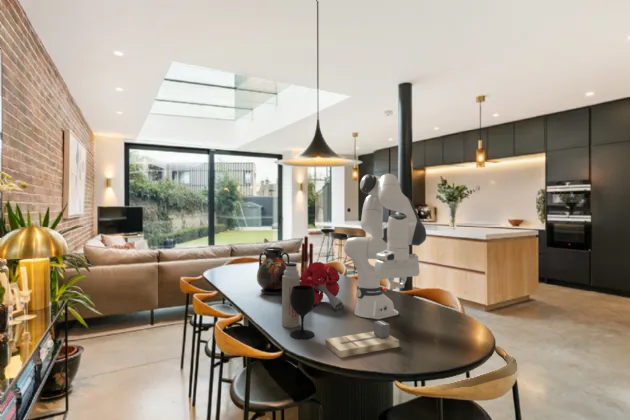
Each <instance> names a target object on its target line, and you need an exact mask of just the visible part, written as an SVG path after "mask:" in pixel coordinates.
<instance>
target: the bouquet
mask: <svg viewBox="0 0 630 420" xmlns="http://www.w3.org/2000/svg"><path fill="white" fill-rule="evenodd" d="M339 280H340V274H339V272H338V270H337V269H336V268H335V267H334V266H332V265H330V264H329V263H326V264H325V263H323V262H321V261H318V262H317V261H315V262H312V263H309V264H308V266H307V267H306V268H305V269H304V270H303V271H302V272H301V276H300V285H307V286H312V287H313V289H314V294H315V303H314V306H317V305H319V303H321V302H322V300H323V299H324V295H325V296H326V297H327V299H328V301H329V302H330V304H331V306H332V308H333V309H334V310H336V311H337V310H340V309H341V308H342V307H343V301H342V300H340V298H338V297H337V296H338V294H339V292H340V285H339Z"/></svg>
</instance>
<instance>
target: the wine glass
mask: <svg viewBox="0 0 630 420" xmlns="http://www.w3.org/2000/svg"><path fill="white" fill-rule="evenodd" d="M290 302H291V306H292V308H293V310H294V311H295V312H296V313H297V314H299V317H300V329H296V330H293V331H290V333H289V336H290V337H291V338H292V339H294V340H310V339H312V338H314V337H315V332H313V331H312V330H308V329H304V322H305V321H304V320H305V316H306V315H308V314H309V313H310V312H311V311H312V309H313V308H314V306H315V304H314V303H315V294H314V289H313V287H312V286H307V285H299V286H294V287H293V288H292V291H291V295H290Z"/></svg>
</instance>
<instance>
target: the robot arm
mask: <svg viewBox="0 0 630 420" xmlns="http://www.w3.org/2000/svg"><path fill="white" fill-rule="evenodd" d="M359 189H360V191H361V192H362V193H363V194H366V195H367V196H366V197H365V199H364V202H363V206H362V210H361V211H362V212H361V220H360V227H361V229H362V230H363V231H364V232H365V233H367V234H369V235H371V236H354V237H349V238H347V239H346V240H345V241H344V245H343V250H344V253H345V255H346V256H347V257H348V258H349V259H351V261H352V262H353V263H354V265H355V267H356V272H357V286H356V305H355V310H354V312H353V313H354V315H355V316H358V317H362V318H367V319H374V320H381V319H387V318H390V317H394V316H398V315H399V311H398V310H396V309H395V307H394V302H393V300H391V299H390V297H388V296H387V295H386V294H384V293H385V292H387V290H388V289H387V287H384V286H383V287H382V286H381V280H386V279H387V281H388V283H389V284H390V285H389V286H390V289H391V290H396V289H397V288H396V287H397V285H396V284H395V283H394V281H395V279H398V278H399V279H401V281H400V282H399V283H398V288H399V289H404V288H405V284H406V282H407V279H408V278H411V277H418V276H419V275H420V264H419V256H418V255H417V254H416V253H410V245H411V246H415V247H417V246H418V247H419V246H420V245H421V244H423V243H424V242H425V241H426V239H427V230H426V227H425V225H424V224H423V222H422V221H421V219H420V217H419V215H418V213H417V210H416V208H415V206H414V203H413V202H412V199H410V198H409V197H407V196H406V195H405V194H404V193H403V192H402V184H401V183H400V182H399V180H398V178H397V176H396V175H394V174H392V173H385V174H383V175H381V176H379V175H374V174H370V173H369V174H368V173H367V174H365V175H363V176H362V178H361V180H360V183H359ZM384 208H385V209H387V210H389V211H394V212H398V213H400V214H397V213H395V214H390V215H389V216H388V221H387V222H386V223H385V224H383V221H384V219H383V218H384ZM401 213H402V214H401ZM369 260H375V263H374V265H373V264H371V263H370V262H369Z"/></svg>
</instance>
